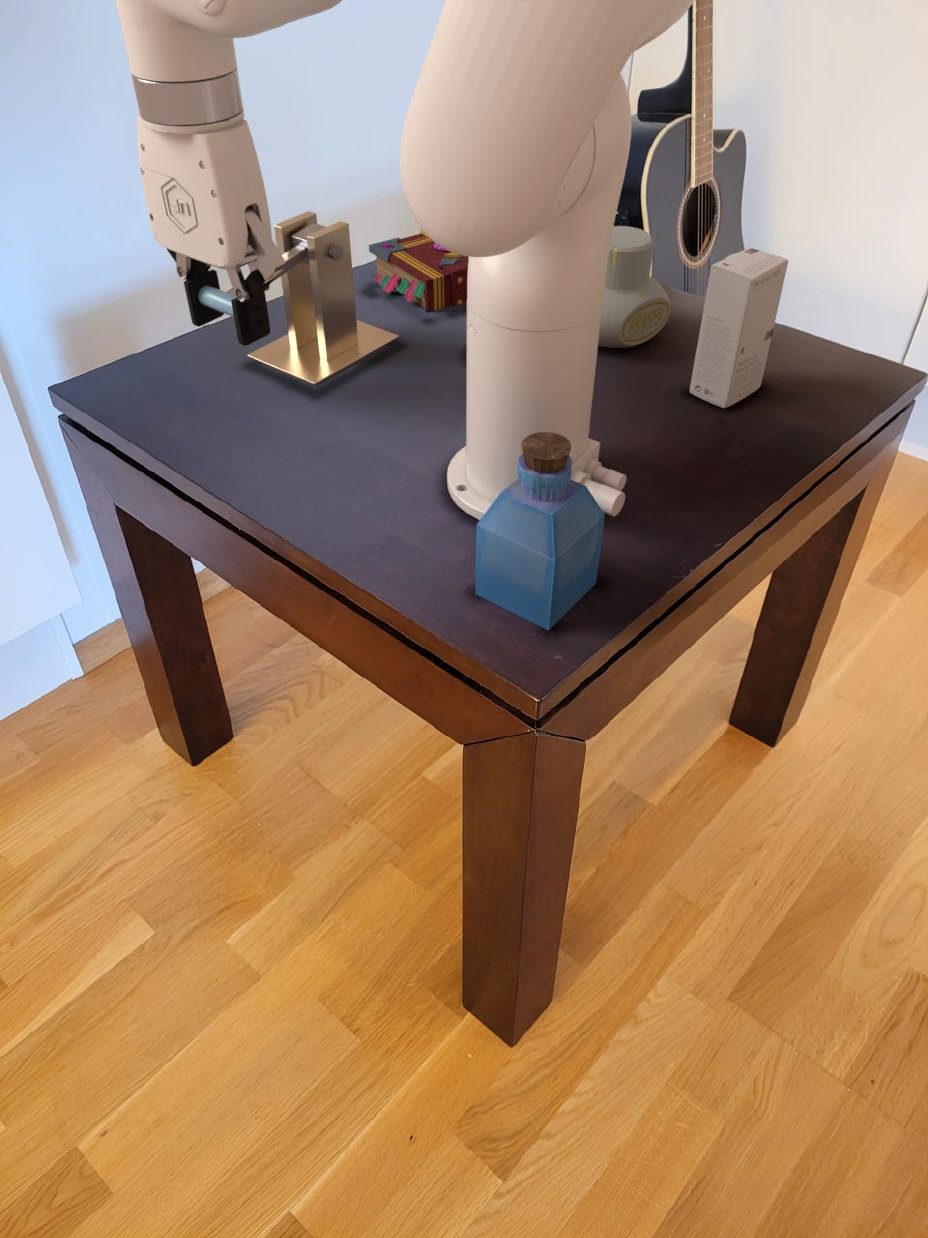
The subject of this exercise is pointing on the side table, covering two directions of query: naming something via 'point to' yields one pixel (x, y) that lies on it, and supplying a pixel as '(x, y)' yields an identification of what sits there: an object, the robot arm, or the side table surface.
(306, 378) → the bracket
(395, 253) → the decorative book
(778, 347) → the side table surface
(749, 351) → the cosmetic box
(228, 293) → the tap lever
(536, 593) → the perfume bottle
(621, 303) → the air freshener
